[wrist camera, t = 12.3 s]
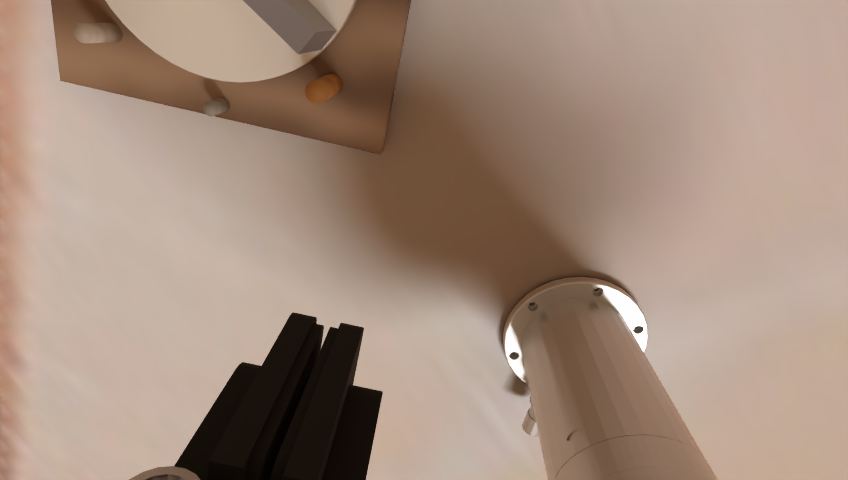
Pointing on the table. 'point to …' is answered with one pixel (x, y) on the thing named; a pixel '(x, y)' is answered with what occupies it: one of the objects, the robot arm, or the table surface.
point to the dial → (235, 33)
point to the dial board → (250, 101)
